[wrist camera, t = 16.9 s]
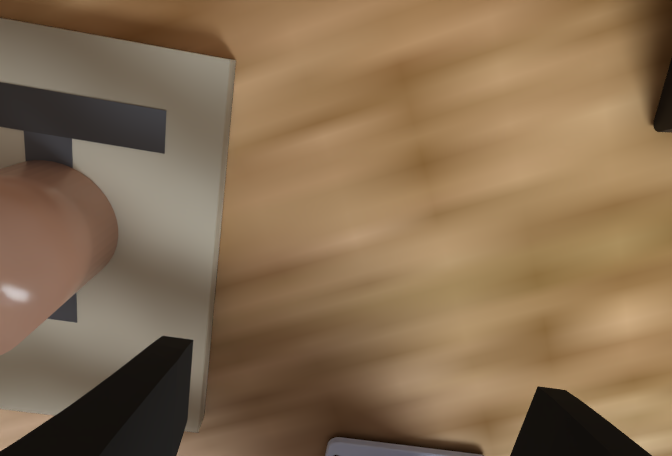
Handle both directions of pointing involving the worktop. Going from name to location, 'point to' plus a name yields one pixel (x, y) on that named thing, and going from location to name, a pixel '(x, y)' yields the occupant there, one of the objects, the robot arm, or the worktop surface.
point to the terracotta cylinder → (48, 242)
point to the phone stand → (665, 106)
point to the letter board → (120, 200)
